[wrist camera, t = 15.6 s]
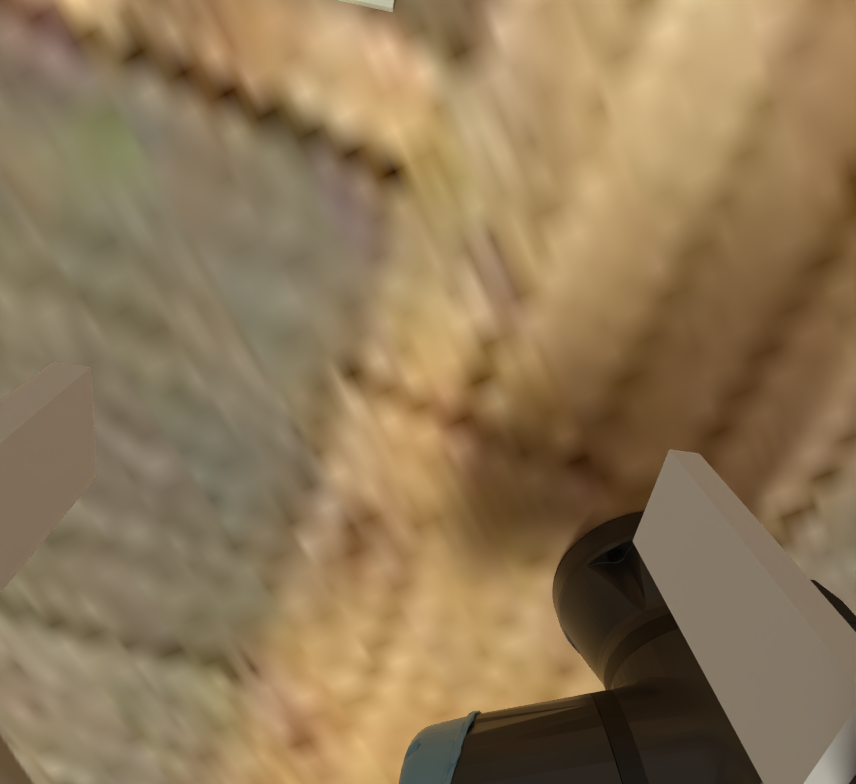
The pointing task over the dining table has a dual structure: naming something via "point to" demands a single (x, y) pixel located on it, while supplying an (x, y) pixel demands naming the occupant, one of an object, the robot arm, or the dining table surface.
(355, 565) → the dining table surface
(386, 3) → the sage tile
